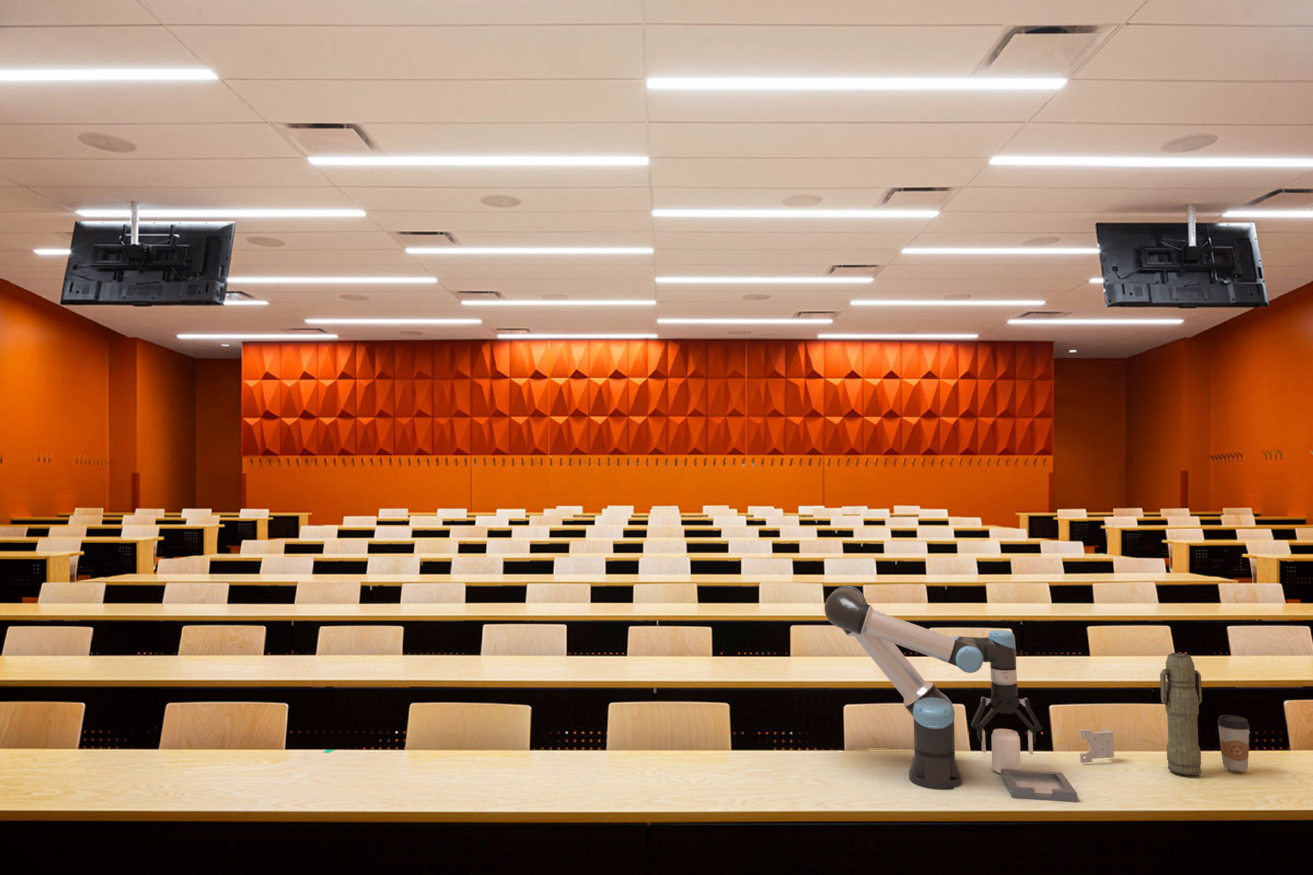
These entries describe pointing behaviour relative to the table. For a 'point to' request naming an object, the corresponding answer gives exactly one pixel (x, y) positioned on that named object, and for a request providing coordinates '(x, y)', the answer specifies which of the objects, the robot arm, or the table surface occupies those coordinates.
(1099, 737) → the bracket
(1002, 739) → the beverage can
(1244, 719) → the coffee cup
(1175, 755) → the thermos
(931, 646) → the robot arm
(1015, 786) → the chassis pocket
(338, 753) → the table surface
